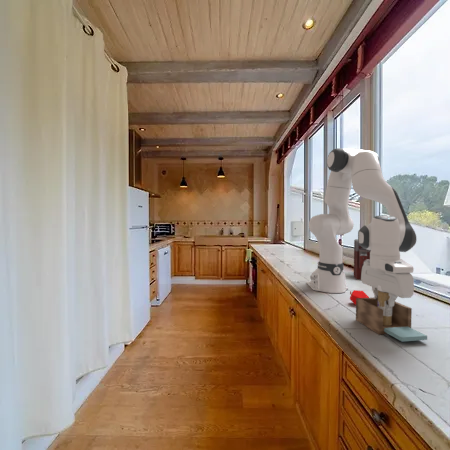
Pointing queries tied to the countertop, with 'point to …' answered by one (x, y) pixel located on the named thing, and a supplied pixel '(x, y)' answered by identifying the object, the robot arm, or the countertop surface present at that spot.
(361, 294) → the apple
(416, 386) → the countertop surface
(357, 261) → the toy vending machine
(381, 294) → the sprinkles bottle
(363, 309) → the crate
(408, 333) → the panel
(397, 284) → the robot arm
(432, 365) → the countertop surface
